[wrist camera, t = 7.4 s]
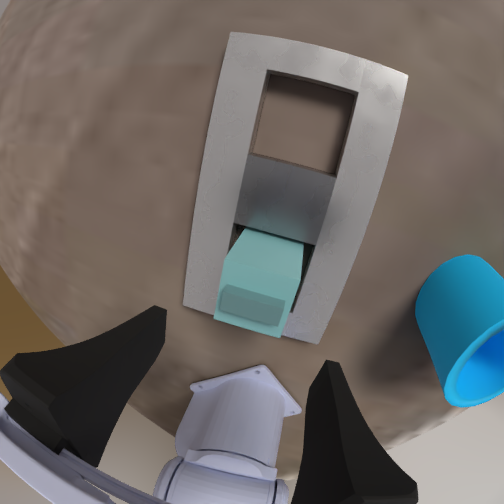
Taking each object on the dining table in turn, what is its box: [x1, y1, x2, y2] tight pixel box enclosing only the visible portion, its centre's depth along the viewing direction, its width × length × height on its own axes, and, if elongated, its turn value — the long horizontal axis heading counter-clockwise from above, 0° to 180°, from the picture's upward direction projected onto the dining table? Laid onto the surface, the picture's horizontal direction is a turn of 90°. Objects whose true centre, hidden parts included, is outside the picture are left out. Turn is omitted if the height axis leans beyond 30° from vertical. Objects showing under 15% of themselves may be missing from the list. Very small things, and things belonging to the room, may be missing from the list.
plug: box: [214, 226, 304, 338], centre depth 18 cm, size 4×4×7 cm
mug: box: [415, 255, 504, 407], centre depth 16 cm, size 12×8×8 cm
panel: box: [183, 32, 408, 344], centre depth 18 cm, size 20×11×2 cm, turn 168°
